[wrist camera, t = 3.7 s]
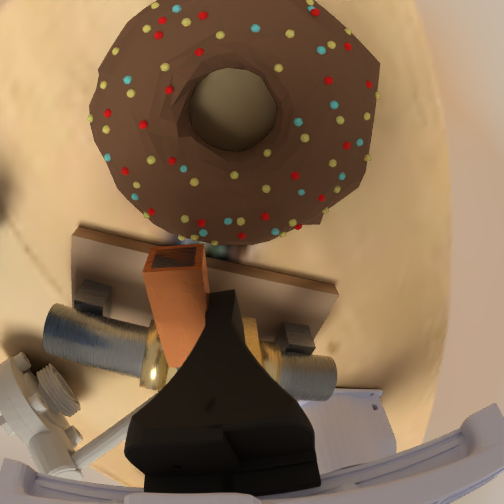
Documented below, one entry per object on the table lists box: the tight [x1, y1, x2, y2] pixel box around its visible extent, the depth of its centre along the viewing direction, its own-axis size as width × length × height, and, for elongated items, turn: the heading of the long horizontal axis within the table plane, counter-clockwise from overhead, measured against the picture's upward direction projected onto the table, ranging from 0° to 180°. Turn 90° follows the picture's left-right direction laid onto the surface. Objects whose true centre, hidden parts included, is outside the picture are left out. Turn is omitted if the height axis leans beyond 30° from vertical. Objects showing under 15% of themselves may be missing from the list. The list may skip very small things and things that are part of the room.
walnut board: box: [71, 227, 339, 342], centre depth 22 cm, size 18×9×1 cm, turn 72°
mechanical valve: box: [0, 352, 160, 481], centre depth 24 cm, size 10×18×15 cm
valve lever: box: [142, 244, 210, 371], centre depth 13 cm, size 11×2×2 cm, turn 1°
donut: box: [87, 0, 380, 246], centre depth 14 cm, size 14×14×5 cm
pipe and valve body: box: [43, 279, 337, 401], centre depth 19 cm, size 18×5×6 cm, turn 72°
